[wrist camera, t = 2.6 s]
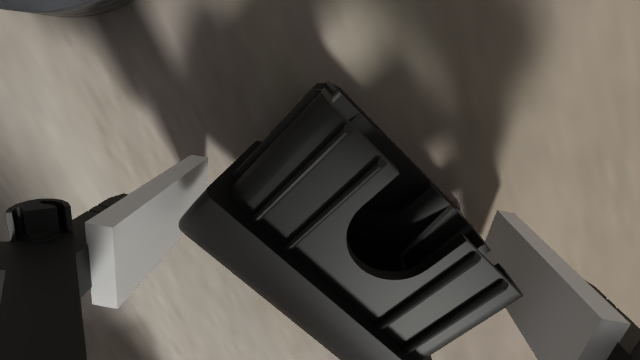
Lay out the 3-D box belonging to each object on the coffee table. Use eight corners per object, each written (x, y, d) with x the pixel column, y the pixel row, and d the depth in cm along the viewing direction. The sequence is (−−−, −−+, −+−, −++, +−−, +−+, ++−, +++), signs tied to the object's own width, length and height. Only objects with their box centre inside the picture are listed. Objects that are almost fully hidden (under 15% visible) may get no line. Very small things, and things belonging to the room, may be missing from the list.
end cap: (221, 179, 17) (142, 257, 10) (322, 69, 14) (302, 81, 8) (363, 303, 18) (372, 433, 12) (472, 222, 16) (550, 328, 10)
